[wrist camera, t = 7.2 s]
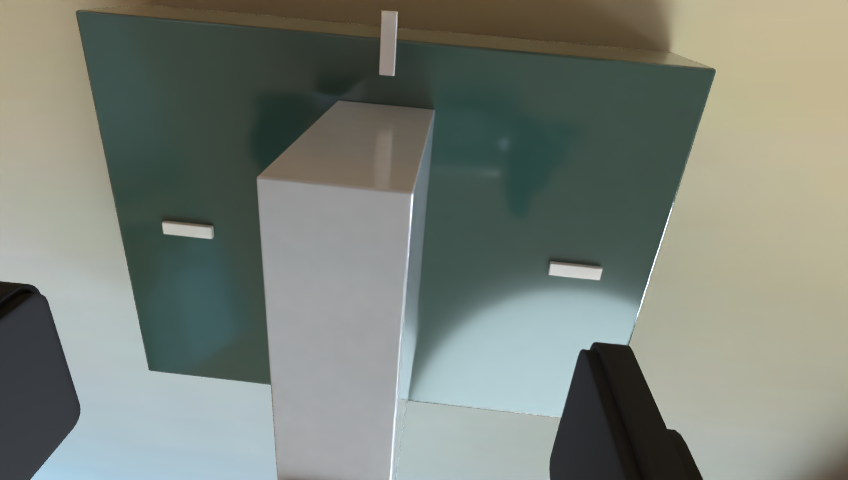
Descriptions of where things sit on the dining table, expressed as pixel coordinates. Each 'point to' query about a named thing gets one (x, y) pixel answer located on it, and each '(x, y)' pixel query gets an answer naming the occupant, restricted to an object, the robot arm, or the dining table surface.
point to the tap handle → (344, 287)
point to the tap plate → (447, 189)
